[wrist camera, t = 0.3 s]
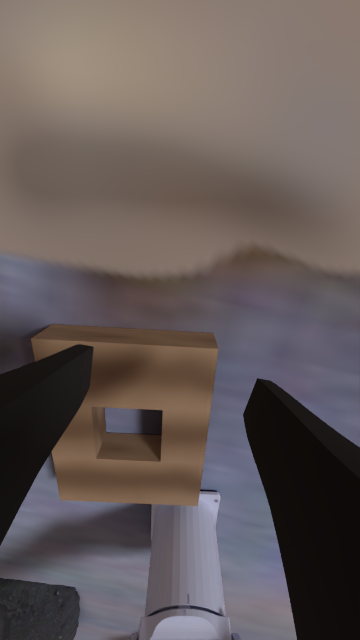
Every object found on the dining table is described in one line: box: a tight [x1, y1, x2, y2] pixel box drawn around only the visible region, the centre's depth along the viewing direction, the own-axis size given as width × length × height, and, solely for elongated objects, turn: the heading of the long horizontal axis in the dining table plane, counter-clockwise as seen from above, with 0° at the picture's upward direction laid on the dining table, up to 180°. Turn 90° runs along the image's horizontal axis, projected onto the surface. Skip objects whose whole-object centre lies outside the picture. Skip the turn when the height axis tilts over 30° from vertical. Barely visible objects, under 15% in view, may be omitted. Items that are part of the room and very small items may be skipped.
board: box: [31, 324, 218, 506], centre depth 21 cm, size 18×14×3 cm
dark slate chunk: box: [0, 578, 80, 640], centre depth 34 cm, size 15×22×5 cm
